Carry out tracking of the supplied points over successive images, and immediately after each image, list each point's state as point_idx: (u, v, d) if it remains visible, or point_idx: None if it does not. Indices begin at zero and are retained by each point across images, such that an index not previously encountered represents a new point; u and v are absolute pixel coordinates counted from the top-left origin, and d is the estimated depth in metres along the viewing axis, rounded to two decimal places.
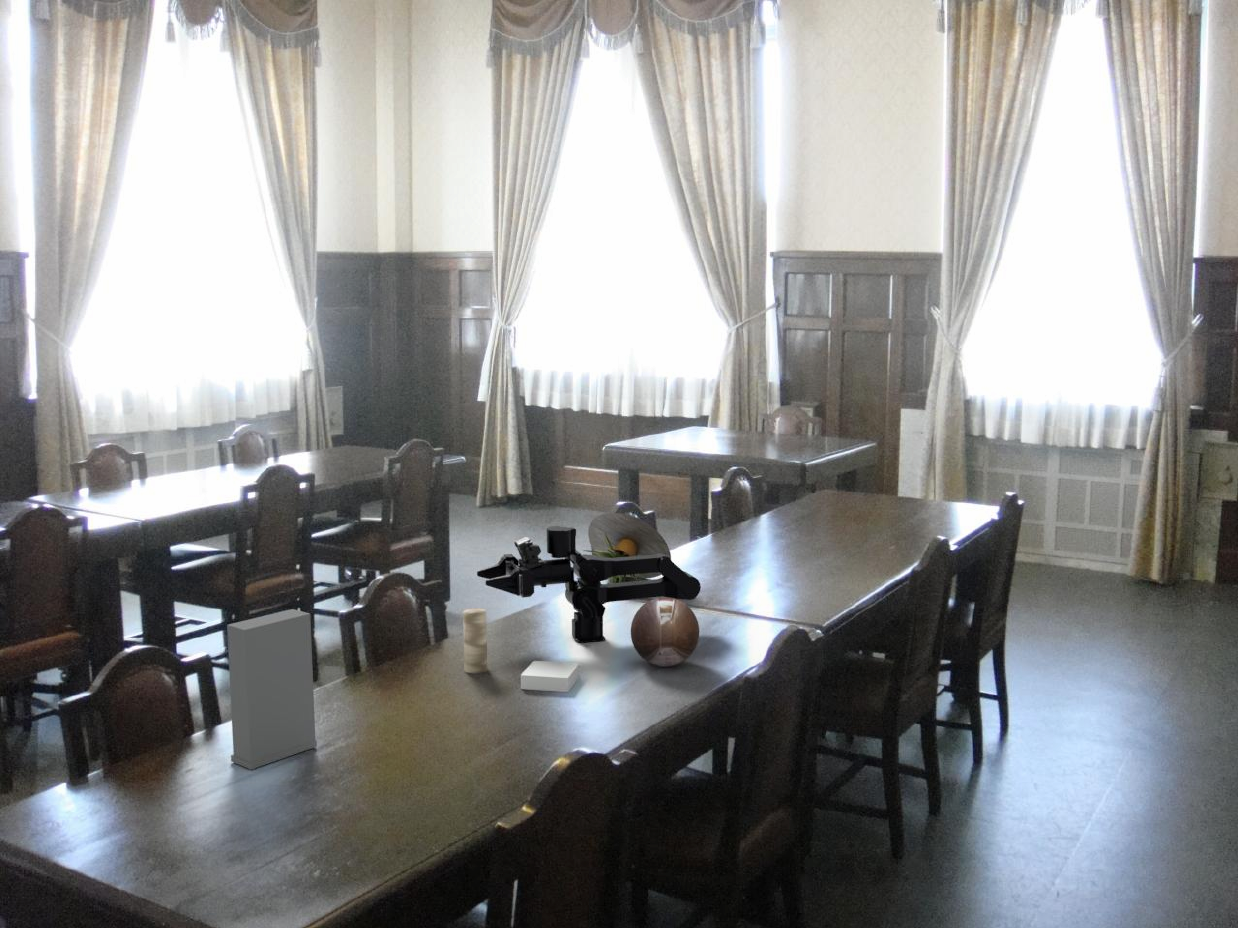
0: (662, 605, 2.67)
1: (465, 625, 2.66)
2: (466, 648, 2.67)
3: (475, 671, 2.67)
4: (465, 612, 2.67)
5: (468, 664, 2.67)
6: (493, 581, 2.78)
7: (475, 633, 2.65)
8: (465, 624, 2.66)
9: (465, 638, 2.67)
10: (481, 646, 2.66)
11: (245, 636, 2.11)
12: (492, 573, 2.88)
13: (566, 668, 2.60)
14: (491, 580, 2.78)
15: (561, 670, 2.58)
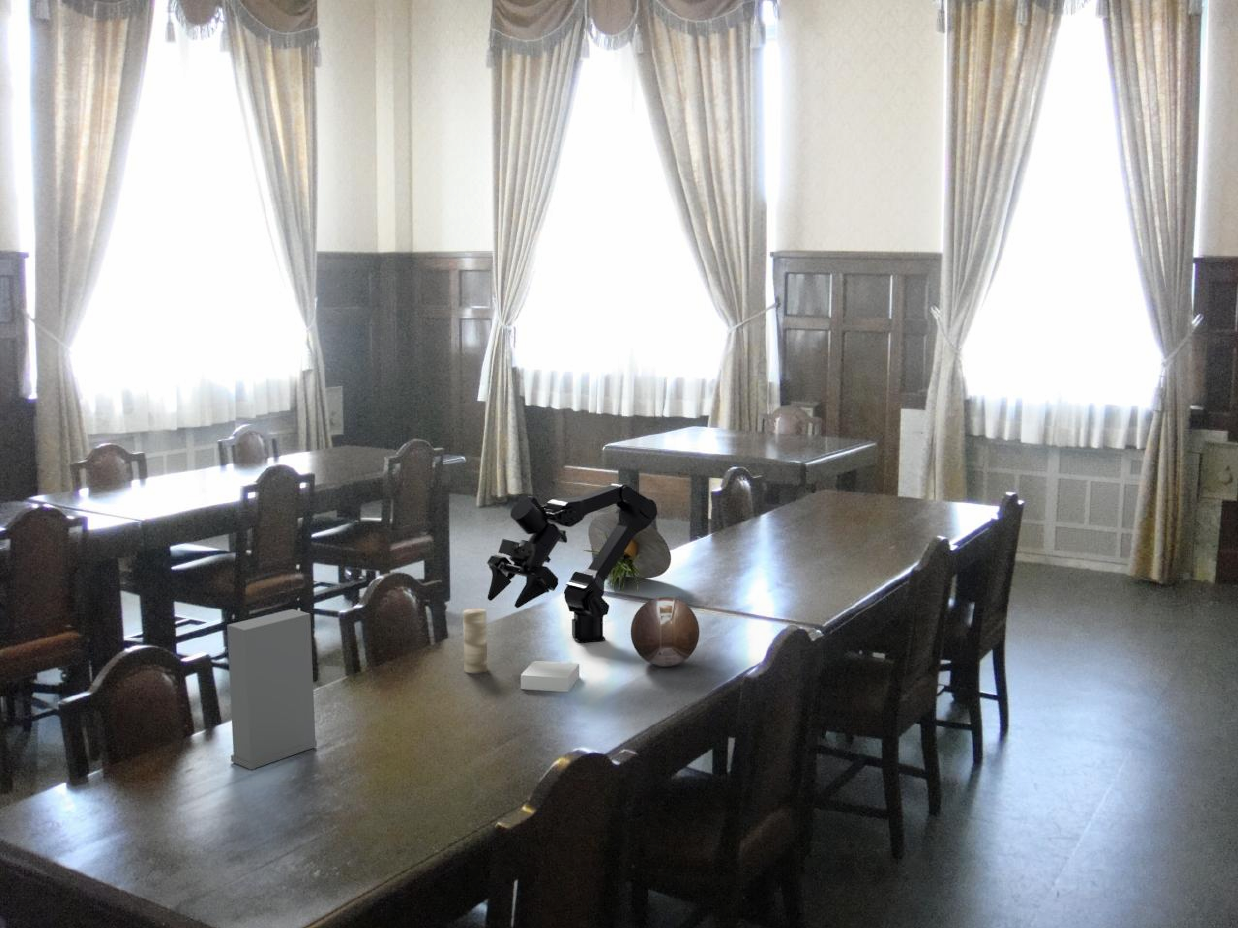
0: (662, 605, 2.67)
1: (465, 625, 2.66)
2: (466, 648, 2.67)
3: (475, 671, 2.67)
4: (465, 612, 2.67)
5: (468, 664, 2.67)
6: (521, 600, 2.69)
7: (475, 633, 2.65)
8: (465, 624, 2.66)
9: (465, 638, 2.67)
10: (481, 646, 2.66)
11: (245, 636, 2.11)
12: (498, 587, 2.78)
13: (566, 668, 2.60)
14: (519, 601, 2.69)
15: (561, 670, 2.58)
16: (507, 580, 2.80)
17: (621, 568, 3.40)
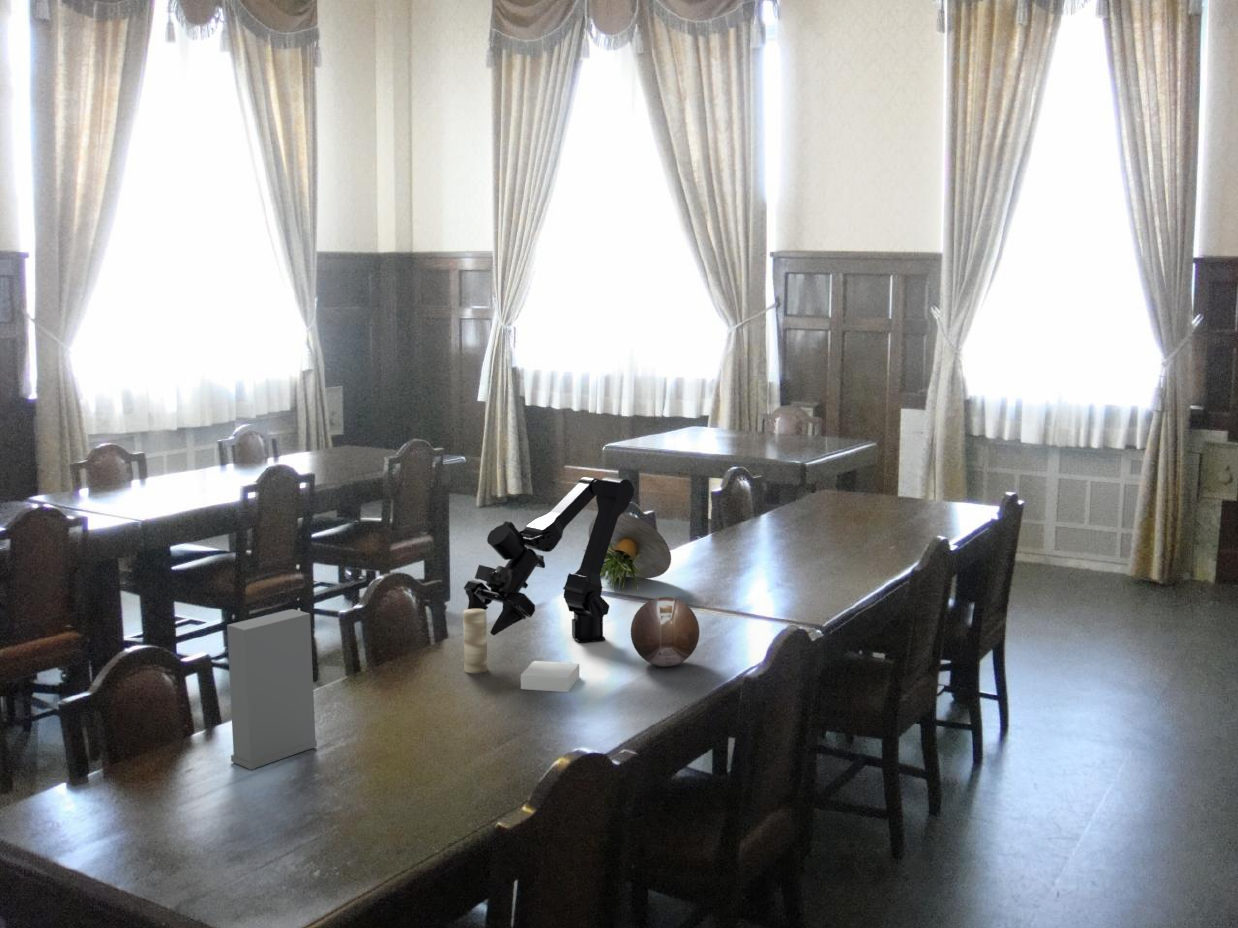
0: (662, 605, 2.67)
1: (465, 625, 2.66)
2: (466, 648, 2.67)
3: (475, 671, 2.67)
4: (465, 612, 2.67)
5: (468, 664, 2.67)
6: (497, 627, 2.65)
7: (475, 633, 2.65)
8: (465, 624, 2.66)
9: (465, 638, 2.67)
10: (481, 646, 2.66)
11: (245, 636, 2.11)
12: None
13: (566, 668, 2.60)
14: (495, 628, 2.65)
15: (561, 670, 2.58)
16: (484, 606, 2.76)
17: (621, 568, 3.40)
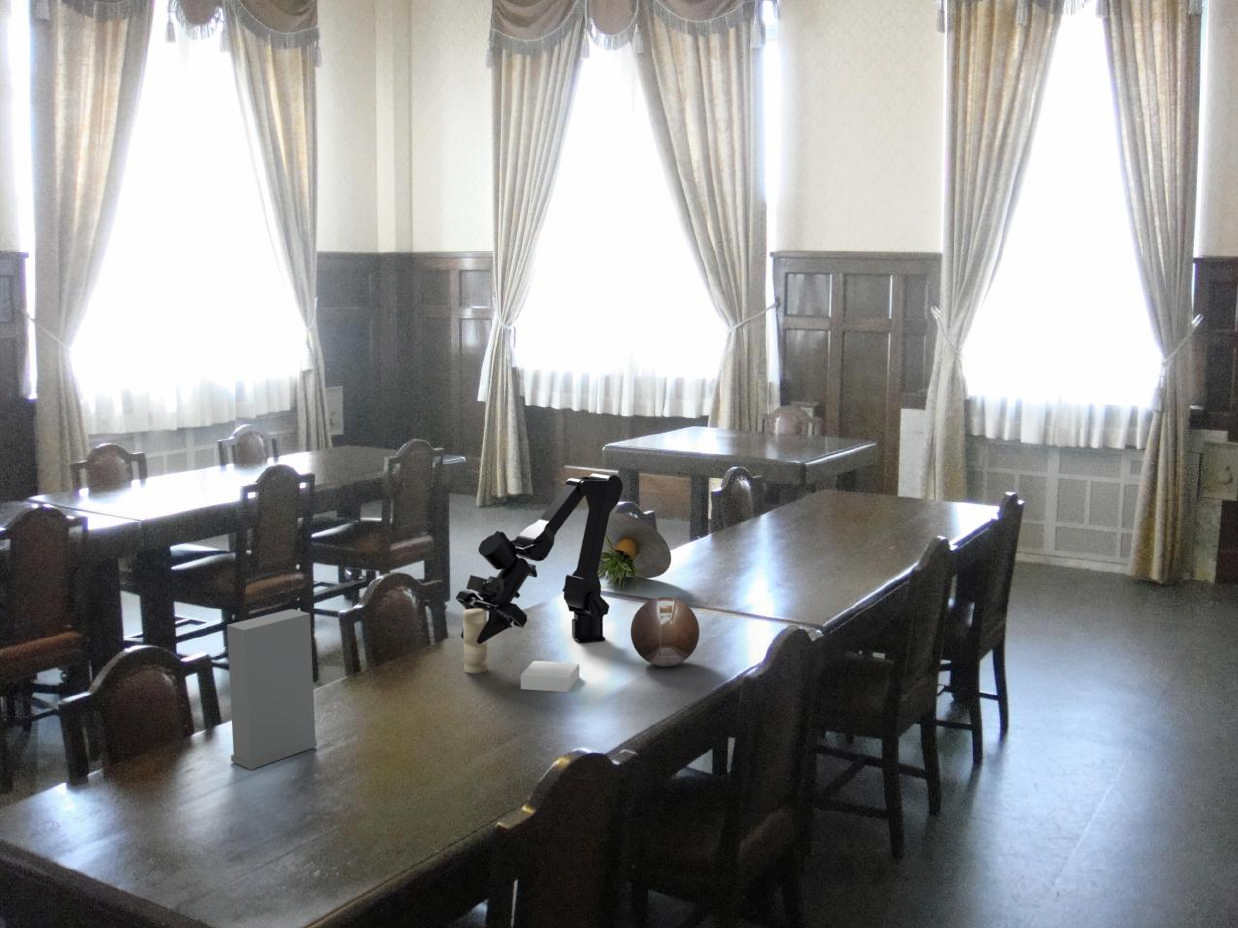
0: (662, 605, 2.67)
1: (465, 625, 2.66)
2: (466, 648, 2.67)
3: (475, 671, 2.67)
4: (465, 612, 2.67)
5: (468, 664, 2.67)
6: (483, 636, 2.65)
7: (475, 633, 2.65)
8: (465, 624, 2.66)
9: (465, 638, 2.67)
10: (481, 646, 2.66)
11: (245, 636, 2.11)
12: None
13: (566, 668, 2.60)
14: (481, 637, 2.65)
15: (561, 670, 2.58)
16: None
17: (621, 568, 3.40)
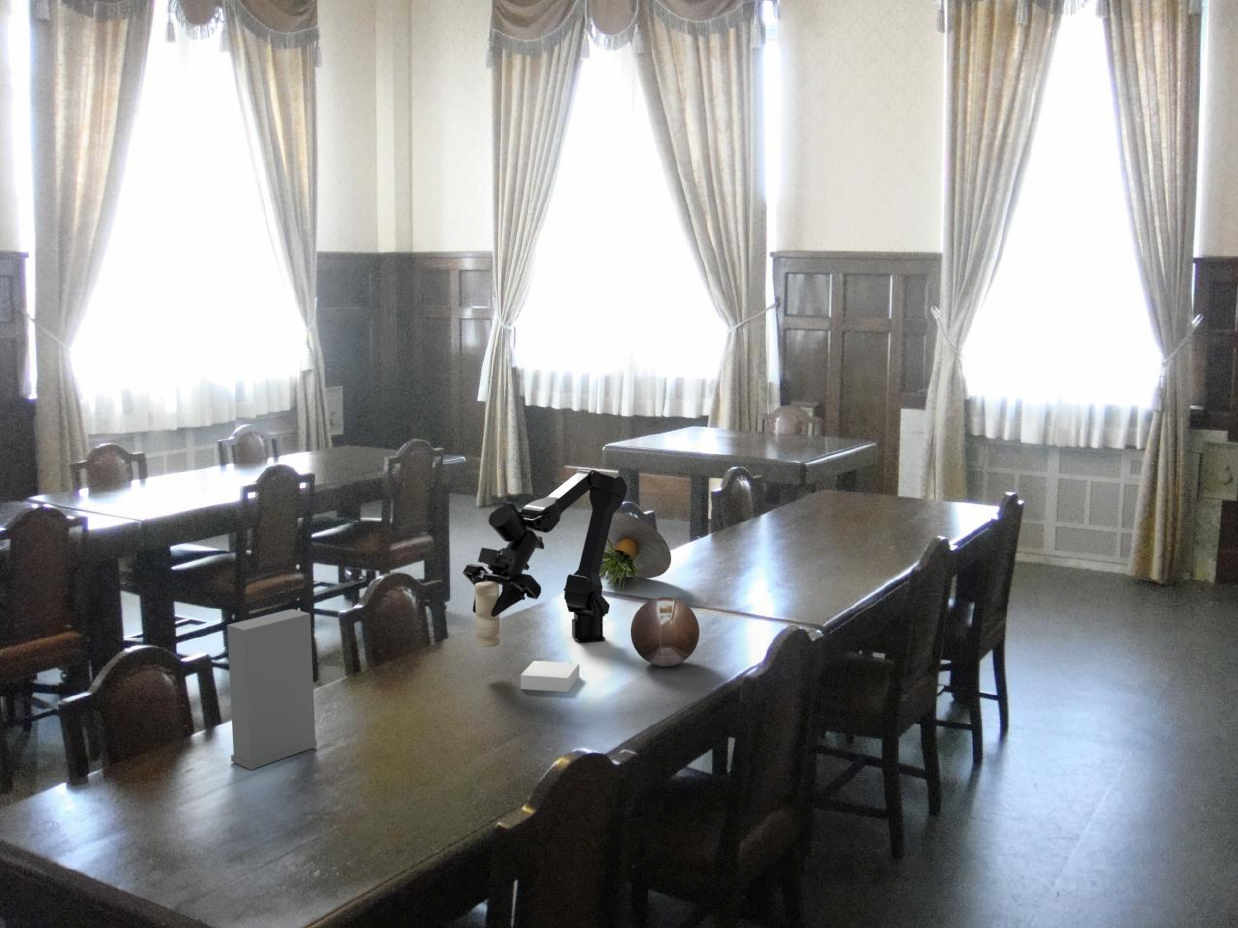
0: (662, 605, 2.67)
1: (478, 598, 2.62)
2: (480, 621, 2.63)
3: (489, 645, 2.63)
4: (478, 585, 2.63)
5: (481, 638, 2.63)
6: (497, 609, 2.62)
7: (489, 606, 2.62)
8: (478, 597, 2.62)
9: (478, 611, 2.63)
10: (494, 619, 2.63)
11: (245, 636, 2.11)
12: None
13: (566, 668, 2.60)
14: (495, 610, 2.62)
15: (561, 670, 2.58)
16: None
17: (621, 568, 3.40)
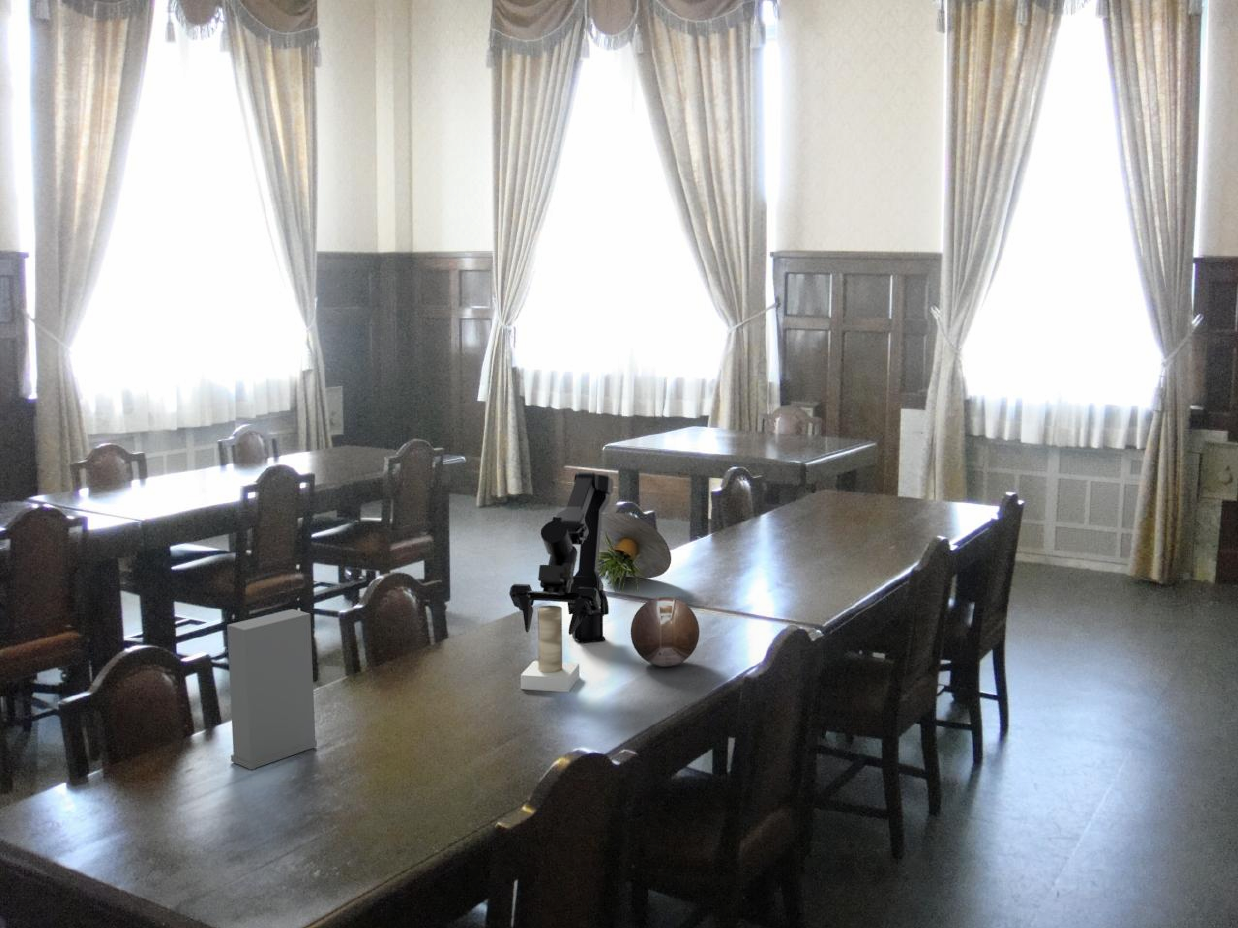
0: (662, 605, 2.67)
1: (546, 623, 2.56)
2: (547, 647, 2.56)
3: (557, 669, 2.58)
4: (543, 610, 2.56)
5: (549, 664, 2.57)
6: (573, 626, 2.57)
7: (557, 629, 2.57)
8: (546, 622, 2.56)
9: (545, 637, 2.56)
10: (561, 643, 2.58)
11: (245, 636, 2.11)
12: (529, 616, 2.60)
13: (566, 668, 2.60)
14: (572, 627, 2.56)
15: (561, 670, 2.58)
16: (532, 608, 2.63)
17: (621, 568, 3.40)
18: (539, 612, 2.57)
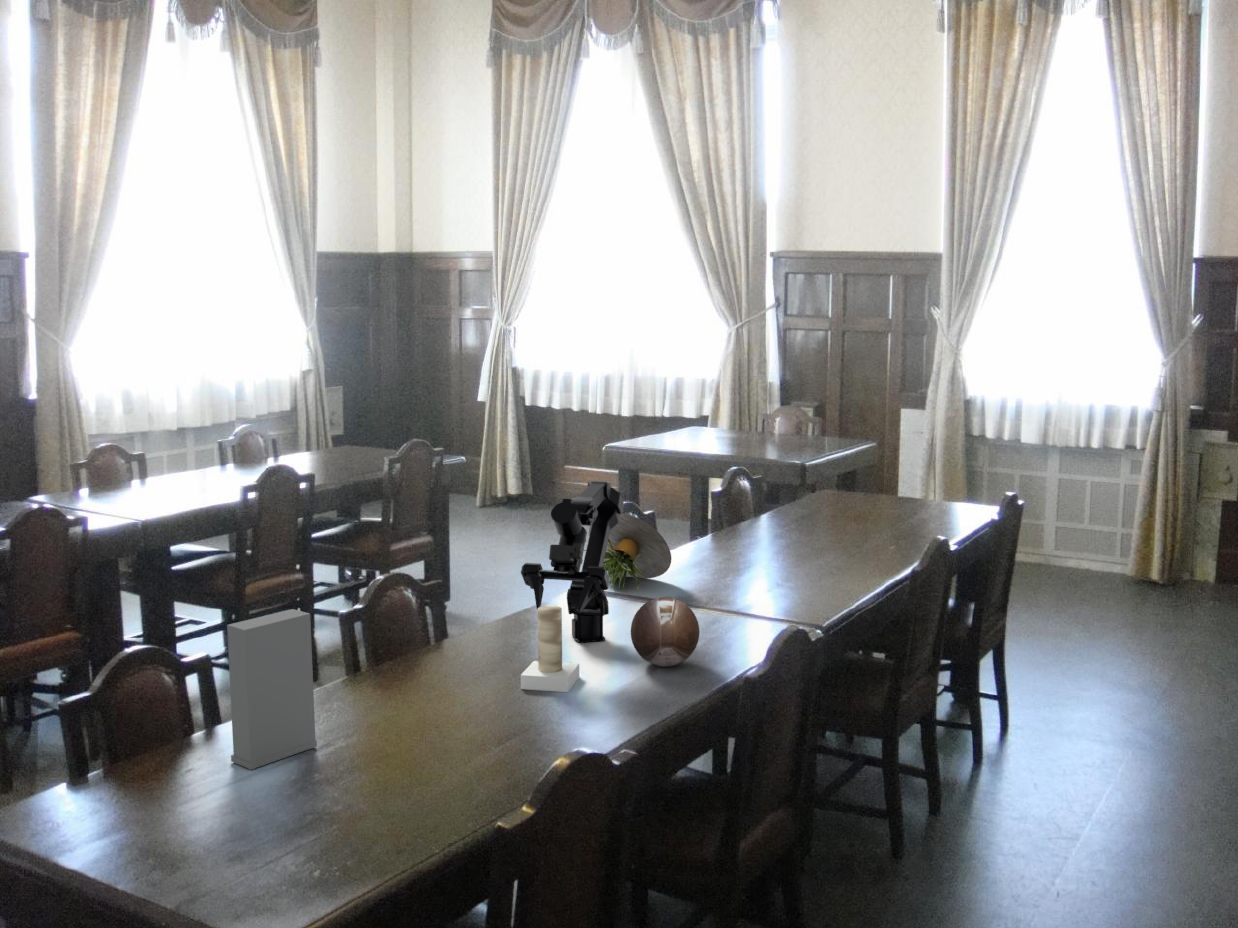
0: (662, 605, 2.67)
1: (545, 624, 2.56)
2: (547, 647, 2.56)
3: (557, 670, 2.58)
4: (543, 610, 2.56)
5: (549, 664, 2.57)
6: (583, 604, 2.66)
7: (557, 630, 2.56)
8: (546, 623, 2.56)
9: (545, 637, 2.56)
10: (561, 643, 2.58)
11: (245, 636, 2.11)
12: (540, 594, 2.69)
13: (566, 668, 2.60)
14: (582, 605, 2.65)
15: (561, 670, 2.58)
16: (542, 587, 2.72)
17: (621, 568, 3.40)
18: (539, 612, 2.56)
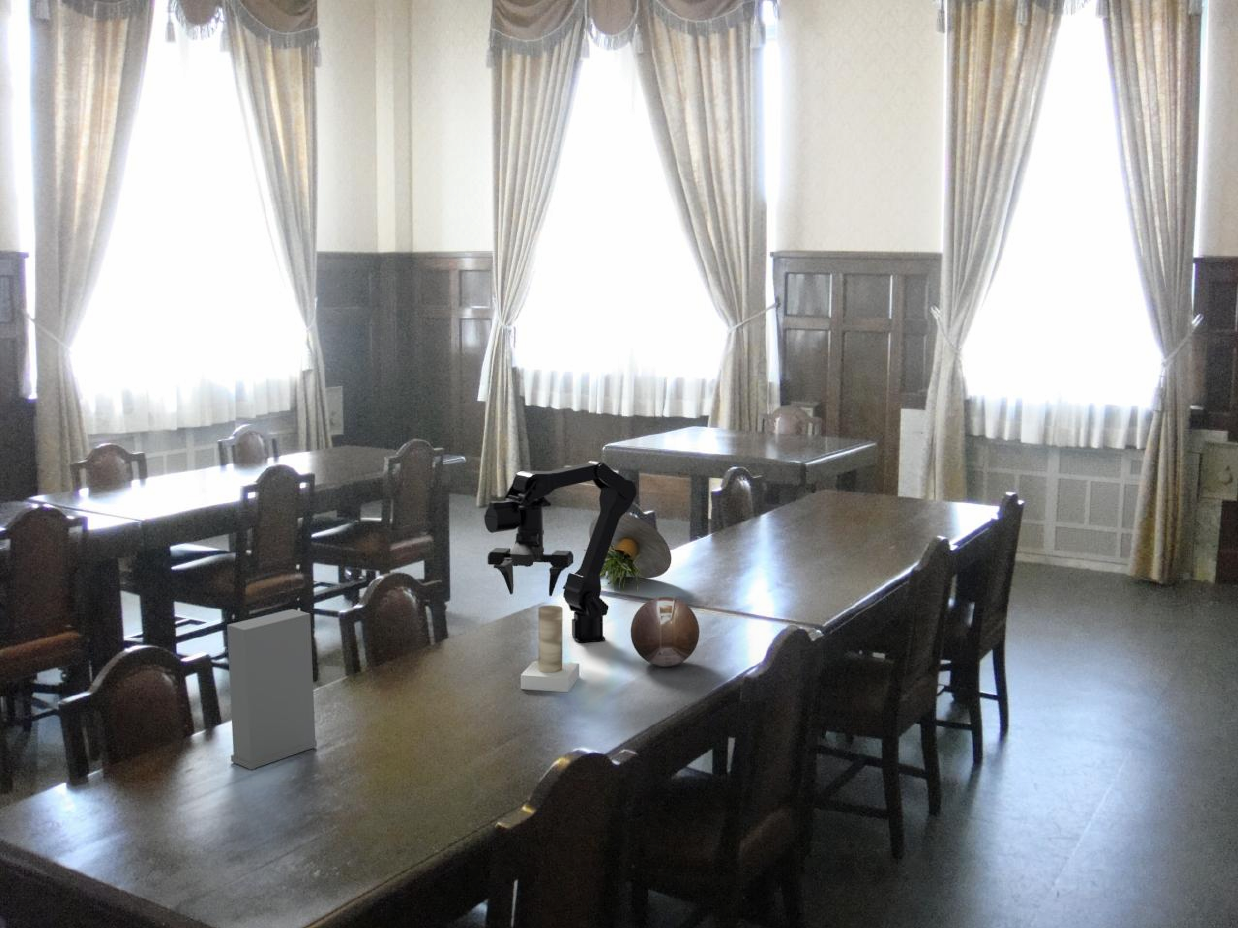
0: (662, 605, 2.67)
1: (546, 623, 2.56)
2: (547, 647, 2.56)
3: (556, 670, 2.58)
4: (544, 610, 2.56)
5: (549, 664, 2.57)
6: (553, 589, 2.80)
7: (558, 630, 2.57)
8: (546, 622, 2.56)
9: (545, 637, 2.56)
10: (561, 643, 2.58)
11: (245, 636, 2.11)
12: (511, 578, 2.82)
13: (566, 668, 2.60)
14: (552, 591, 2.80)
15: (561, 670, 2.58)
16: (511, 564, 2.83)
17: (621, 568, 3.40)
18: (540, 612, 2.56)
